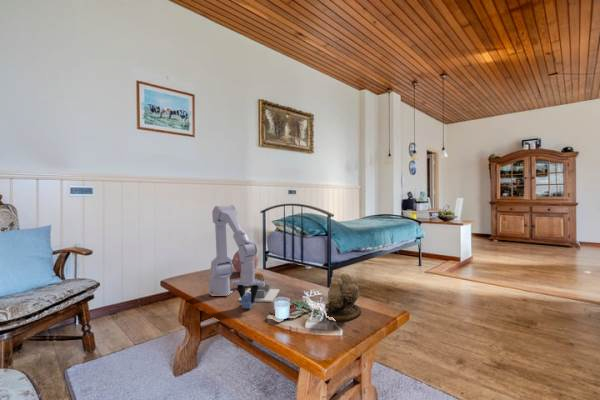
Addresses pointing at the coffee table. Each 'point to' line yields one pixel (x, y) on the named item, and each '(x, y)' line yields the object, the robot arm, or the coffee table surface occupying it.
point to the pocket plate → (264, 294)
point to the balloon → (237, 262)
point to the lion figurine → (257, 277)
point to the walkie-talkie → (292, 311)
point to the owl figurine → (343, 299)
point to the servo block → (247, 300)
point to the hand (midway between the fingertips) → (248, 302)
